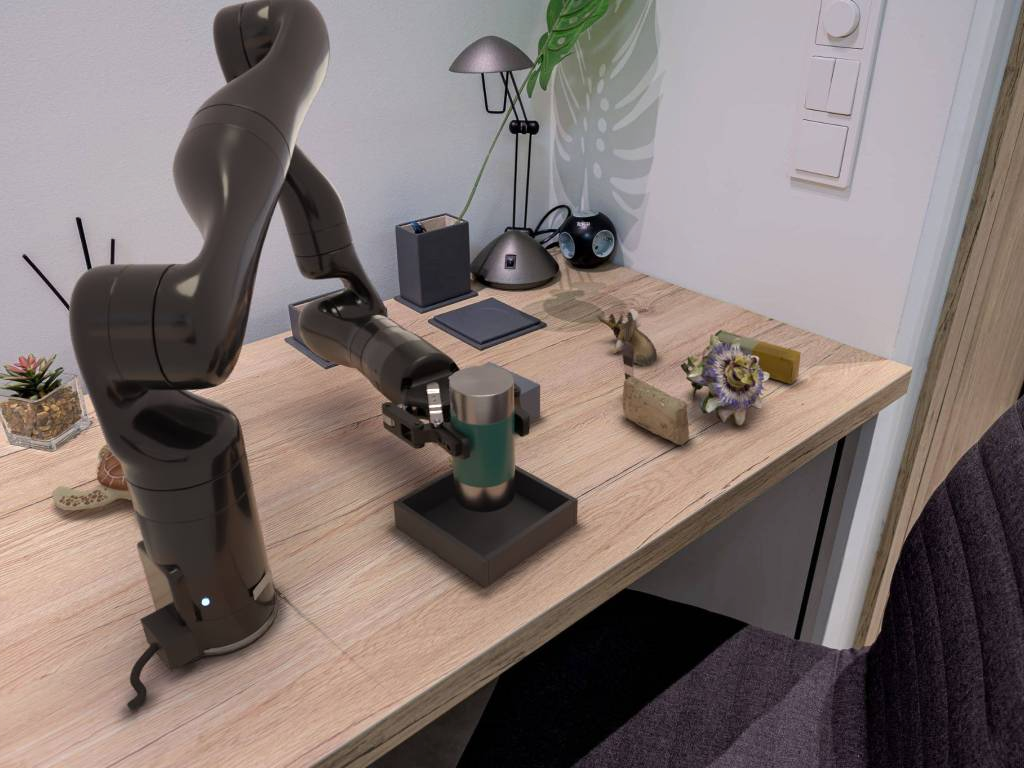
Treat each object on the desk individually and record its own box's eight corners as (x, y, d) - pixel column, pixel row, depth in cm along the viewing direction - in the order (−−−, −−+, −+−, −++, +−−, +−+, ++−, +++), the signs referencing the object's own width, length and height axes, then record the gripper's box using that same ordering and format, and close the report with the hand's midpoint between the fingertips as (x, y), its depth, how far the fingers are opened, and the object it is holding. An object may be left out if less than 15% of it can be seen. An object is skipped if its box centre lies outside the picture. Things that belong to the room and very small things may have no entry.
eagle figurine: (584, 339, 120) (615, 354, 112) (605, 295, 120) (638, 306, 112) (623, 358, 124) (656, 373, 116) (643, 315, 123) (678, 327, 115)
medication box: (709, 361, 116) (710, 336, 114) (718, 352, 118) (719, 328, 116) (791, 385, 110) (793, 359, 107) (799, 376, 111) (802, 350, 109)
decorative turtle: (57, 553, 82) (43, 513, 79) (54, 468, 95) (42, 431, 92) (243, 501, 89) (235, 463, 87) (217, 429, 102) (209, 394, 100)
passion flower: (731, 458, 105) (719, 418, 95) (667, 412, 111) (649, 370, 101) (788, 394, 106) (781, 348, 96) (721, 352, 112) (709, 305, 102)
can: (483, 521, 78) (480, 403, 72) (441, 494, 82) (434, 380, 76) (527, 493, 82) (528, 379, 76) (485, 469, 86) (482, 358, 80)
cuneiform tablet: (628, 398, 107) (702, 434, 99) (604, 416, 105) (678, 454, 97) (623, 353, 103) (700, 387, 95) (598, 371, 101) (675, 407, 93)
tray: (484, 592, 76) (483, 563, 75) (395, 529, 85) (392, 501, 83) (577, 526, 85) (578, 499, 83) (488, 475, 93) (487, 449, 91)
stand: (488, 448, 98) (487, 412, 95) (438, 420, 103) (436, 386, 101) (540, 419, 103) (540, 384, 101) (490, 394, 109) (489, 361, 106)
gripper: (344, 358, 83) (428, 428, 71) (464, 323, 91) (558, 381, 79) (352, 421, 87) (433, 498, 75) (466, 383, 94) (557, 447, 82)
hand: (497, 438), depth 77 cm, fingers closed on can, 6 cm apart
